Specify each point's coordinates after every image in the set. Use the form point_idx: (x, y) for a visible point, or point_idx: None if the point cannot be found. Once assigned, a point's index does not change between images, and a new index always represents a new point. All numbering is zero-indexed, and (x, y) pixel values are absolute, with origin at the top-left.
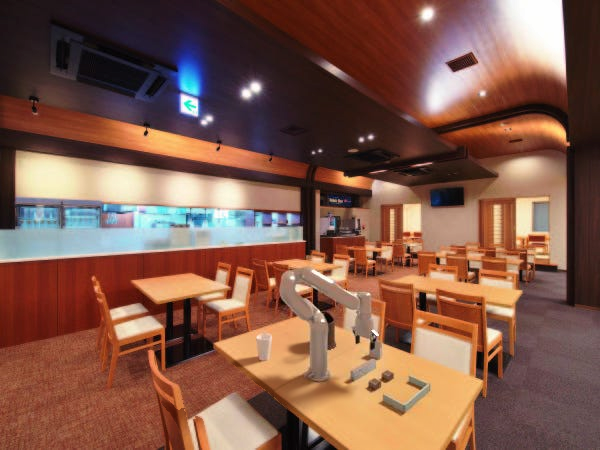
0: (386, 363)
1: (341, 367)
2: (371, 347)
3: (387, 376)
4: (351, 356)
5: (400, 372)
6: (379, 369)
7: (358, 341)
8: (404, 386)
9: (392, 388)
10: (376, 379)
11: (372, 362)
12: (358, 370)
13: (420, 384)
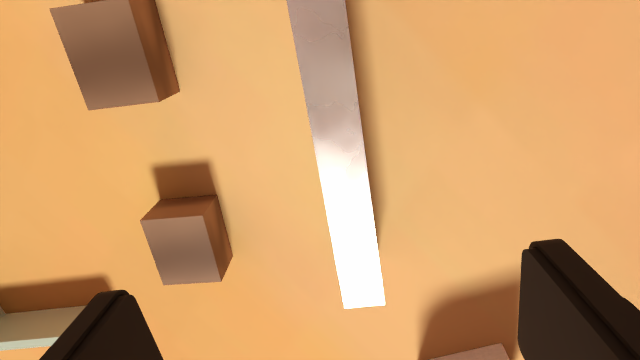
0: (350, 354)
1: (560, 8)
2: (67, 339)
3: (149, 217)
4: (612, 237)
5: (220, 339)
6: (318, 267)
7: (543, 341)
8: (74, 242)
9: (75, 158)
10: (130, 97)
11: (336, 257)
12: (290, 14)
13: (34, 320)
